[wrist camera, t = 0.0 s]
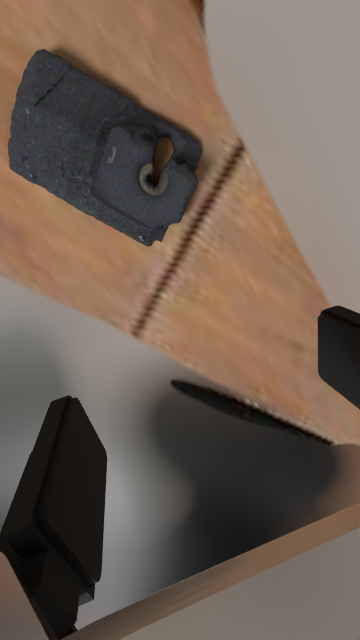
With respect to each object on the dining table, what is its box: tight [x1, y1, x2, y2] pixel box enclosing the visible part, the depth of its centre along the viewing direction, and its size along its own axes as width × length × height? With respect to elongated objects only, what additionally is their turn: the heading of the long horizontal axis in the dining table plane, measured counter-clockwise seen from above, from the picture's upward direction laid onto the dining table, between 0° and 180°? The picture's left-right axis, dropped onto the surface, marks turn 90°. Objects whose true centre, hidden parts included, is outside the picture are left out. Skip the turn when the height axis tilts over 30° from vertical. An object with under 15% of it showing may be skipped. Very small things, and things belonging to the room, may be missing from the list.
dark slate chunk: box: [8, 49, 202, 247], centre depth 31 cm, size 15×22×5 cm
